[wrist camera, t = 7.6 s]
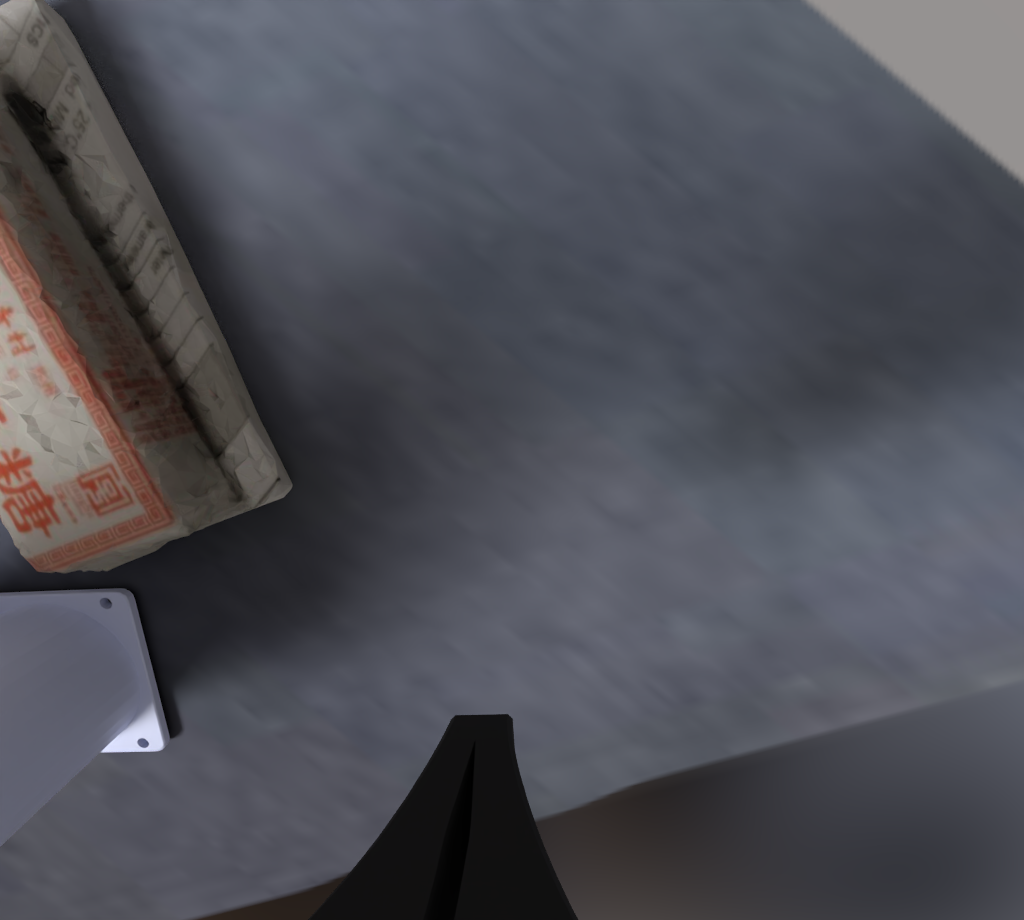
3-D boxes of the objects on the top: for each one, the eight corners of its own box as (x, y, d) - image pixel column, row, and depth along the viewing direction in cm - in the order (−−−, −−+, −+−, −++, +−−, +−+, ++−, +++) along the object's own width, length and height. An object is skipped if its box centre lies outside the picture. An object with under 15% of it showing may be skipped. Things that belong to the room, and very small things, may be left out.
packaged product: (239, 529, 16) (-10, 622, 17) (307, 486, 21) (108, 562, 22) (-99, -111, 12) (-383, 64, 14) (76, 14, 17) (-147, 136, 18)
